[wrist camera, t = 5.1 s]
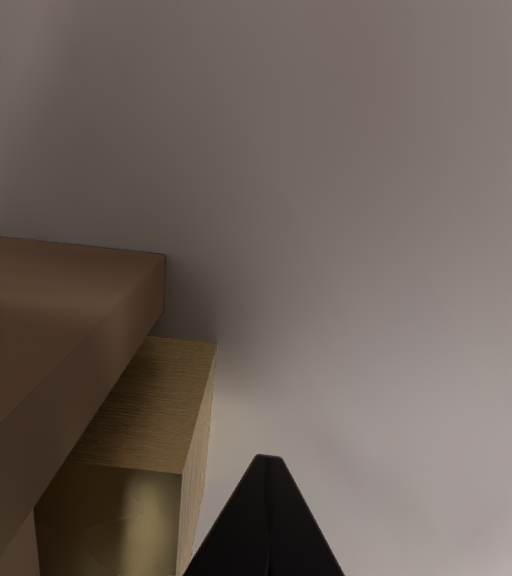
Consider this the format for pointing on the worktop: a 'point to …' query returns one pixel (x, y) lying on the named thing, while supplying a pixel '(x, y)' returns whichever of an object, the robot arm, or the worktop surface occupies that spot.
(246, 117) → the worktop surface
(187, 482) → the brass block
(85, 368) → the walnut beam
